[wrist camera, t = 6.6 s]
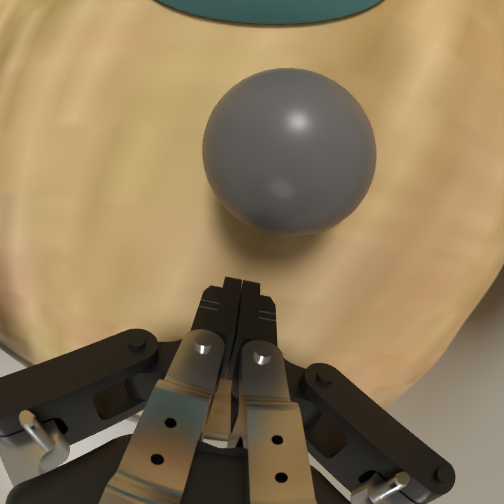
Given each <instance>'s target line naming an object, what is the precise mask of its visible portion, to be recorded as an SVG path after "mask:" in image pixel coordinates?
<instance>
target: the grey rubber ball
mask: <svg viewBox="0 0 504 504" xmlns="http://www.w3.org/2000/svg"><path fill="white" fill-rule="evenodd" d="M203 163H204V168H205V173H206V176H207V179H208V181H209V184H210V186H211V188H212V190H213V192H214V194H215V195H216V197H217V198H218V200H219V201H220V202H221V204H222V205H223V206H224V207H225V208H226V209H227V210H228V211H229V212H230V213H231V214H232V215H233V216H234V217H235V218H237V219H238V220H239V221H241V222H242V223H244V224H246V225H247V226H249V227H251V228H253V229H256V230H258V231H261V232H264V233H267V234H271V235H275V236H282V237H302V236H309V235H313V234H316V233H320V232H322V231H325V230H327V229H330V228H332V227H334V226H335V225H337V224H339V223H340V222H341V221H343V220H344V219H345V218H347V217H348V216H349V215H350V214H351V213H352V212H353V211H354V210H355V209H356V208H357V207H358V206H359V204H360V203H361V201H362V200H363V199H364V197H365V196H366V194H367V192H368V190H369V187H370V185H371V183H372V180H373V176H374V173H375V166H376V143H375V138H374V133H373V129H372V127H371V124H370V121H369V119H368V117H367V116H366V114H365V112H364V110H363V108H362V107H361V106H360V104H359V103H358V102H357V100H356V99H355V98H354V97H353V96H352V95H351V94H350V93H349V92H348V91H347V90H346V89H344V88H343V87H342V86H340V85H339V84H338V83H336V82H335V81H333V80H331V79H329V78H328V77H326V76H323V75H321V74H318V73H316V72H312V71H308V70H304V69H296V68H278V69H272V70H266V71H263V72H260V73H257V74H254V75H252V76H250V77H248V78H246V79H244V80H242V81H241V82H239V83H238V84H236V85H235V86H234V87H232V88H231V89H230V90H229V91H228V92H227V93H226V94H225V95H224V96H223V97H222V98H221V100H220V101H219V102H218V104H217V105H216V106H215V108H214V109H213V111H212V113H211V115H210V117H209V120H208V123H207V126H206V129H205V132H204V138H203Z"/></svg>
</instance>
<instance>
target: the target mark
mask: <svg viewBox="0 0 504 504" xmlns="http://www.w3.org/2000/svg"><path fill="white" fill-rule="evenodd" d="M159 1H160V2H162V3H164V4H166V5H168V6H171V7H173V8H175V9H177V10H180V11H184V12H187V13H190V14H193V15H197V16H202V17H207V18H211V19H216V20H224V21H230V22H240V23H252V24H301V23H310V22H320V21H326V20H331V19H337V18H341V17H345V16H348V15H352V14H356V13H358V12H360V11H363V10H365V9H368V8H370V7H372V6H373V5H375V4H377V3H378V2H380V1H381V0H159Z"/></svg>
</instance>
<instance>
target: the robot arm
mask: <svg viewBox="0 0 504 504" xmlns="http://www.w3.org/2000/svg"><path fill="white" fill-rule="evenodd" d="M241 284H242V288H241ZM228 362H229V364H228ZM227 367H228V371H227ZM226 371H227V379H229V380H232V388H231V392H230V395H229V432H228V445H227V448H217V447H214V446H212V445H209V444H207V443H204V442H203V438H204V434H205V430H206V427H207V423H208V419H209V415H210V412H211V408H212V404H213V400H214V397H215V393H216V391H217V390H218V387H219V382H220V378H223V379H225V375H226ZM142 410H144V411H143V413H142V415H141V417H140V419H139V422H138V424H137V426H136V428H135V431H134V433H133V434H128V435H124V436H120V437H118V438H115V439H113V440H111V441H109V442H107V443H105V444H103V445H102V446H100V447H98V448H96V449H94V450H92V451H91V452H88V453H86V454H84V455H82V456H80V457H78V458H76V459H74V460H72V461H70V462H68V463H66V464H64V465H62V466H59V465H60V464H62V463H63V462H65V461H66V459H67V458H68V456H69V452H70V447H69V445H72V444H74V443H76V442H78V441H80V440H83V439H85V438H87V437H89V436H92V435H94V434H96V433H98V432H100V431H102V430H104V429H106V428H108V427H110V426H112V425H114V424H116V423H118V422H120V421H122V420H124V419H126V418H128V417H130V416H132V415H134V414H136V413H138V412H140V411H142ZM307 451H308V452H309V453H310V454H311V455H312V456H313V457H314V458H315V459H316V460H317V461H318V462H319V463H320V464H321V465H322V466H323V467H324V468H325V469H326V470H327V471H328V472H329V473H330V474H331V475H332V476H333V477H335V478H336V479H337V480H338V481H339V482H340V483H341V484H342V485H343V486H344V487H346V488H347V489H348V490H349V491H350V492H351V493H352V494H351V499H350V500H351V501H349V500H347V499H346V498H345V497H344V496H343V495H342V494H341V493H340V492H339V491H338V490H337V489H336V488H335V487H334V486H333V485H332V484H331V483H330V482H329V481H328V480H327V479H326V478H325V477H324V476H323V475H322V474H321V473H320V472H319V471H318V470H316V469H315V468H314V467H313V466H311V465H310V464H309V458H308V452H307ZM0 456H1V459H2V462H3V464H4V467H5V469H6V471H7V473H8V476H9V478H10V480H11V482H12V484H13V486H14V488H13V489H12V490H11V491H10V492H9V494H8V496H7V500H6V504H427V503H429V502H431V501H433V500H435V499H436V498H438V497H440V496H442V495H444V494H446V493H447V492H449V491H450V490H451V489H452V487H453V485H454V483H455V471H454V469H453V467H452V466H451V464H450V463H449V462H447V461H446V460H445V459H444V458H442V457H441V456H440V455H438V454H437V453H436V452H435V451H433V450H432V449H431V448H430V447H428V446H427V445H426V444H424V443H423V442H422V441H421V440H420V439H419V438H417V437H416V436H415V435H414V434H412V433H411V432H410V431H409V430H407V429H406V428H405V427H404V426H403V425H401V424H400V423H399V422H398V421H396V420H395V419H394V418H393V417H392V416H390V415H389V414H388V413H387V412H386V411H385V410H383V409H382V408H381V407H380V406H379V405H378V404H376V403H375V402H374V401H373V400H372V399H371V398H369V397H368V396H367V395H366V394H365V393H364V392H362V391H361V390H360V389H359V388H358V387H357V386H355V385H354V384H353V383H352V382H351V381H350V380H349V379H347V378H346V377H345V376H344V375H343V374H342V373H341V372H339V371H338V370H337V369H336V368H334V367H333V366H331V365H328V364H325V363H315V364H312V365H310V366H308V368H307V369H304V368H302V367H299V366H296V365H294V364H292V363H290V362H288V361H287V360H285V359H284V358H283V355H282V352H281V351H280V349H279V348H278V346H277V326H276V307H275V304H274V302H273V300H272V299H271V297H268V296H263V295H260V283H256V282H251V281H246V280H243V283H242V280H241V279H235V278H230V277H226V276H225V280H224V284H223V288H221V287H216V286H212V285H211V286H209V287H208V288H207V289H206V290H204V292H203V295H202V298H201V301H200V304H199V307H198V310H197V313H196V316H195V319H194V322H193V325H192V328H191V331H190V332H188V333H187V334H186V335H185V336H184V337H183V339H181V340H178V341H174V342H158V341H157V339H156V337H155V336H154V335H153V334H152V333H150V332H148V331H146V330H143V329H129V330H126V331H124V332H121V333H118V334H116V335H113V336H111V337H108V338H106V339H103V340H101V341H98V342H95V343H93V344H90V345H88V346H85V347H83V348H80V349H77V350H75V351H72V352H69V353H67V354H64V355H61V356H59V357H56V358H53V359H51V360H48V361H45V362H42V363H40V364H37V365H34V366H31V367H29V368H26V369H23V370H20V371H17V372H15V373H12V374H9V375H6V376H4V377H1V378H0ZM58 466H59V467H58Z"/></svg>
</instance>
